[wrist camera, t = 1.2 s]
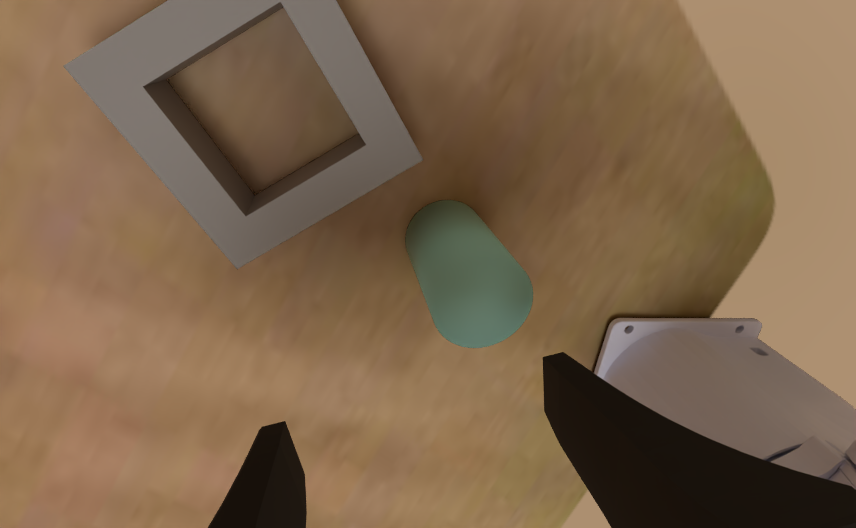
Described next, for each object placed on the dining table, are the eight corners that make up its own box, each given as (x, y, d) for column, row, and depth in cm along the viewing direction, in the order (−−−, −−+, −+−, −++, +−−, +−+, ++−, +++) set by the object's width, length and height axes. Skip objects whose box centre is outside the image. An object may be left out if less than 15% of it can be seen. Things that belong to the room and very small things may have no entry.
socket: (297, -64, 16) (293, -79, 14) (412, 145, 20) (423, 159, 18) (98, 61, 17) (63, 66, 14) (246, 243, 20) (237, 269, 18)
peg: (489, 202, 22) (542, 258, 16) (476, 274, 23) (521, 347, 18) (409, 197, 21) (438, 254, 16) (401, 272, 22) (425, 348, 17)
